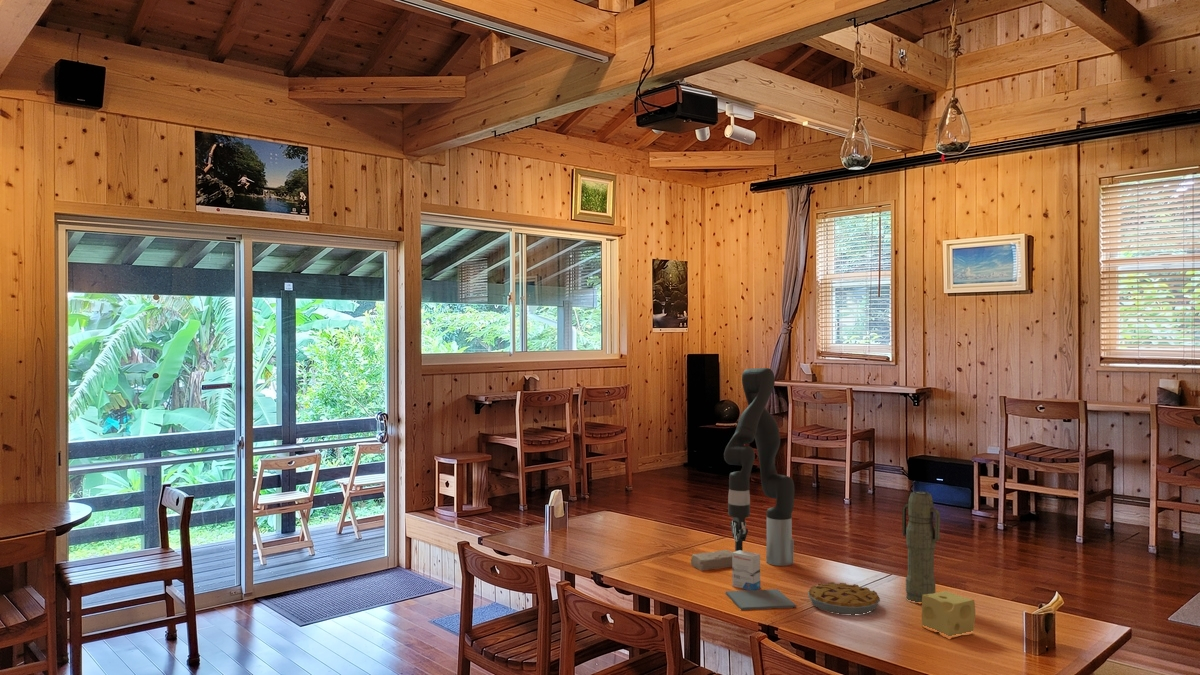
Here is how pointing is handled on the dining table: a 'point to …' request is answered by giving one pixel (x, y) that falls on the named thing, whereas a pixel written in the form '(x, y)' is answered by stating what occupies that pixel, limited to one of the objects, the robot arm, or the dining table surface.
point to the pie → (843, 598)
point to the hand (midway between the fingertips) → (738, 551)
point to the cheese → (948, 613)
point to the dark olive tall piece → (920, 544)
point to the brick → (712, 560)
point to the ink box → (746, 570)
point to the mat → (760, 599)
